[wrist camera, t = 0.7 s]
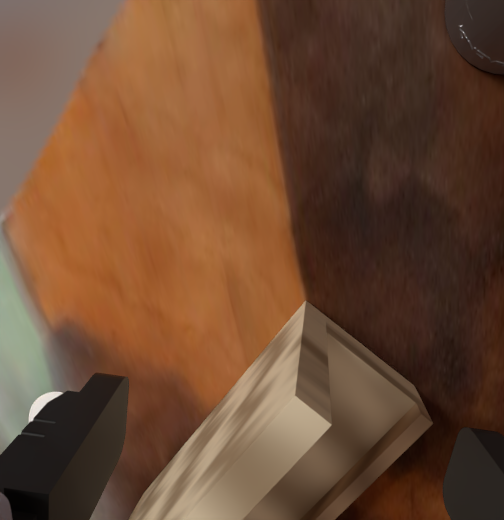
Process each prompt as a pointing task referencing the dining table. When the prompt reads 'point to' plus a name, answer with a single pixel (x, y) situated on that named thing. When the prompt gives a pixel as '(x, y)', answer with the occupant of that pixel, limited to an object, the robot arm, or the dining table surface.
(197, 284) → the dining table surface
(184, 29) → the dining table surface
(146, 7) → the dining table surface
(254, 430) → the board
